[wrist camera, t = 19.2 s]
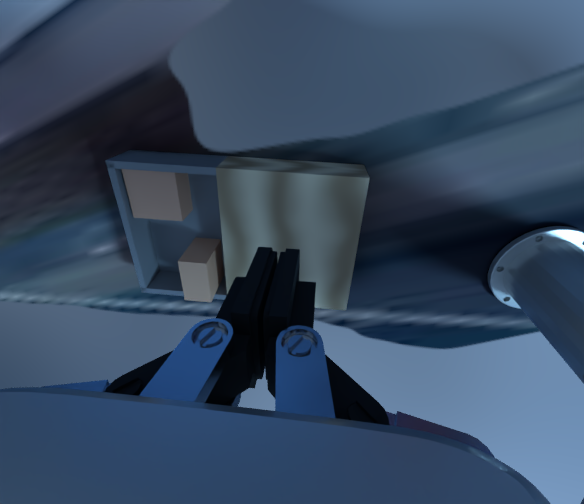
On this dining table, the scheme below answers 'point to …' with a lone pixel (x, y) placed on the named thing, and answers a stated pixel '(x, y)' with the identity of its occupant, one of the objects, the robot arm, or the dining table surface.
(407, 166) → the dining table surface
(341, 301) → the pale green square panel
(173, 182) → the tile
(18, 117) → the dining table surface
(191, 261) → the tile
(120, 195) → the tray
